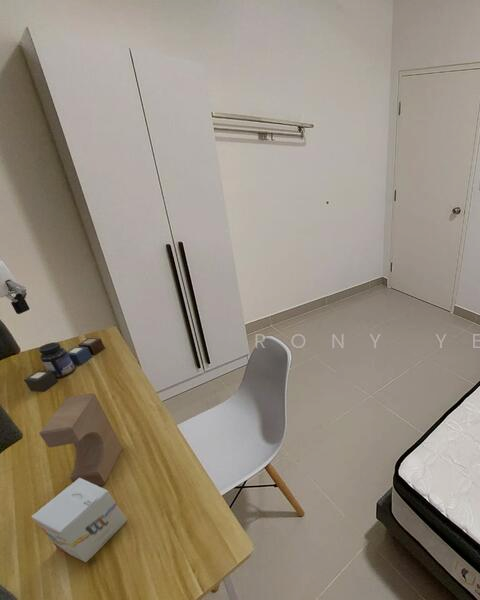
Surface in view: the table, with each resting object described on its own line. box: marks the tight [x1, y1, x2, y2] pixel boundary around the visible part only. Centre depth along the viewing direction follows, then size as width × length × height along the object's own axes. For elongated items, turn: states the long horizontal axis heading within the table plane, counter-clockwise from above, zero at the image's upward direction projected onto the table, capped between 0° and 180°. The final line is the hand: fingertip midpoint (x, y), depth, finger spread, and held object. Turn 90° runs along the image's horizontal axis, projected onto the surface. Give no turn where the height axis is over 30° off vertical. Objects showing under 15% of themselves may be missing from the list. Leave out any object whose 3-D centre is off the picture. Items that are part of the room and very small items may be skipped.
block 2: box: [66, 346, 93, 366], centre depth 116 cm, size 4×4×5 cm
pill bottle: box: [38, 341, 76, 379], centre depth 108 cm, size 6×6×11 cm
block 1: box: [23, 369, 59, 392], centre depth 104 cm, size 4×4×5 cm
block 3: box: [77, 337, 106, 356], centre depth 121 cm, size 4×4×5 cm
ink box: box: [31, 478, 128, 563], centre depth 67 cm, size 9×9×12 cm
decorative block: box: [38, 392, 123, 487], centre depth 78 cm, size 11×6×20 cm, turn 16°
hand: (7, 310), depth 99 cm, fingers open, 9 cm apart
